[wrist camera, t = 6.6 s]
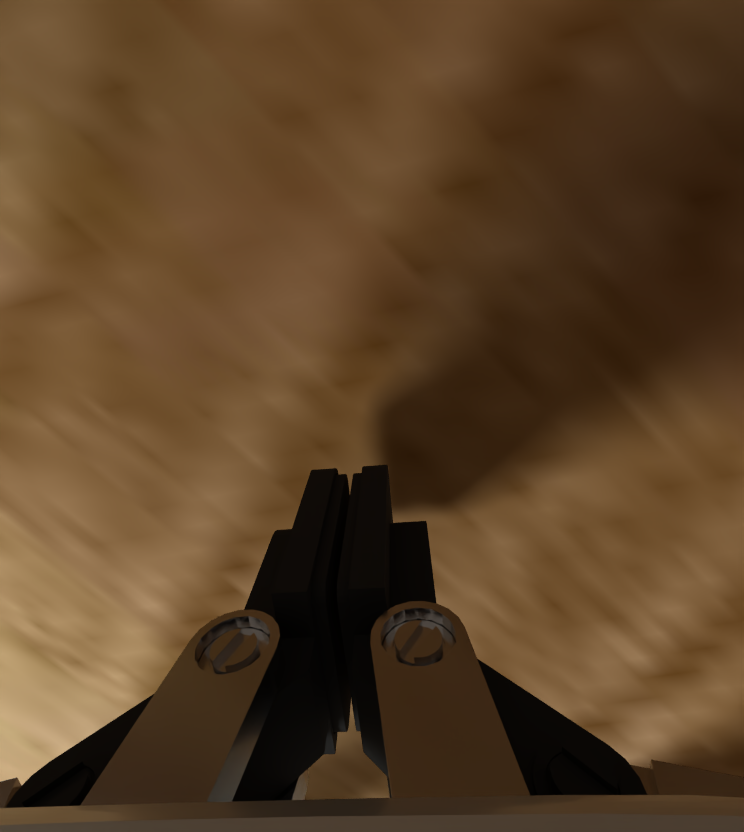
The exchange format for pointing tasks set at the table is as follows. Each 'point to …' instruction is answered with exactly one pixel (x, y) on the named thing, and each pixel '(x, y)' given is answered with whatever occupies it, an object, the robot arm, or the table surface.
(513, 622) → the table surface
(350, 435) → the table surface
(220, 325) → the table surface
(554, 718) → the robot arm
